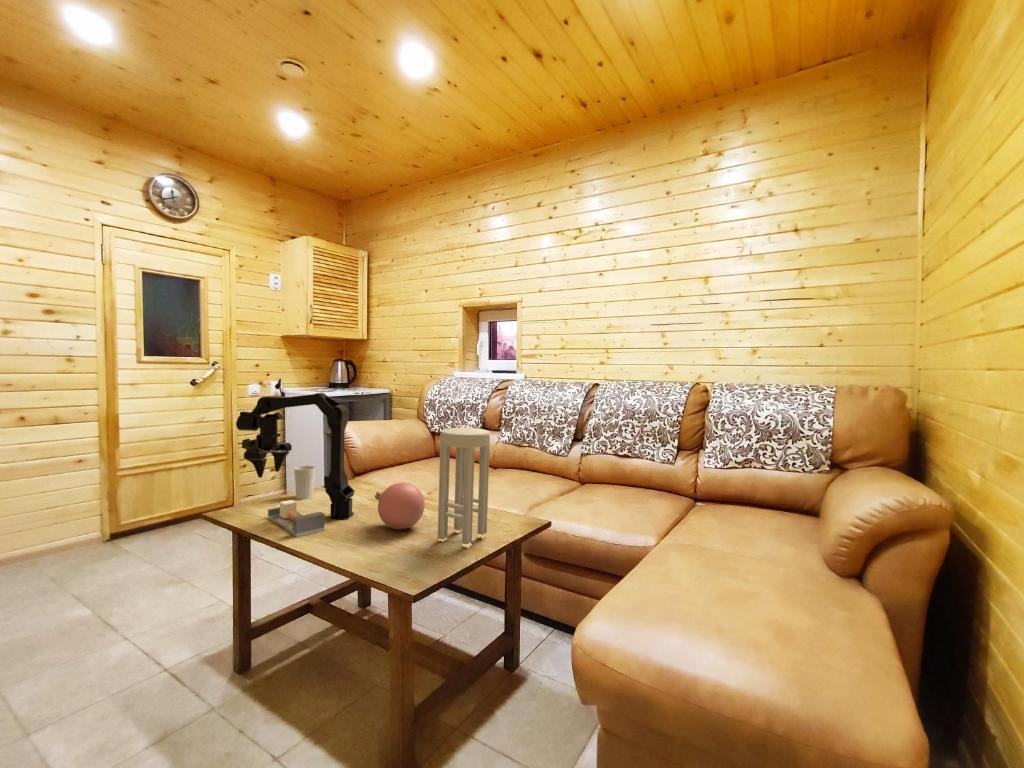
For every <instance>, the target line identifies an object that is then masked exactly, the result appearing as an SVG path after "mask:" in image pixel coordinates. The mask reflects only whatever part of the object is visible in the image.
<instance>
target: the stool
mask: <svg viewBox="0 0 1024 768" xmlns="http://www.w3.org/2000/svg"><path fill="white" fill-rule="evenodd" d="M439 436H440V437H439V472H438V473H439V474H438V475H439V476H438V511H437V513H438V514H437V540H438V539H442V540H443V539H445V538H447V539H448V536H449V535H448V533H449V532H448V530H449V529H448V528H449V526H448V525H449V518H450V519H453V530H454V529H455V530H461V529H462V532H461V544H462V543H463V544H469V543H471V542H472V543H473V515H474V513H477V528H476V530H477V534H482V535H483V534H485V533H487V534H488V532H487V531H488V529H487V528H488V506H489V505H488V504H489V502H488V501H489V477H490V476H489V470H490V444H491V443H490V440H491V439H490V438H491V437H490V436H491V432H490V430H486V429H483V428H476V427H475V428H474V427H450V428H443V429H442V430H441V432H440V435H439ZM451 447H452V448H455V475H454V477H455V479H454V481H455V482H454V503H452V502H449V495H450V467H451V466H450V463H451V462H450V459H451V456H450V455H451ZM476 448H479V463H478V464H479V465H478V466H479V467H478V468H479V471H478V495H477V497H478V498H476V497H474V482H475V481H474V480H475V455H476V454H475V451H476ZM474 503H475V504H478V505H477V507H475V506H474ZM449 508H450V509H454V510H453V511H454V512H453V513H452V512H449ZM473 512H474V513H473ZM477 534H476V535H477Z"/></svg>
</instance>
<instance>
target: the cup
mask: <svg viewBox="0 0 1024 768" xmlns="http://www.w3.org/2000/svg"><path fill="white" fill-rule="evenodd" d="M293 473H294V483H295V484H294V485H295V486H294V487H295V499H296V500H303V501H304V500H309V499H313V498H314V489H315V488H314V487H315V475H316V466H315V465H300V466H295V467H294V468H293Z"/></svg>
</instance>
